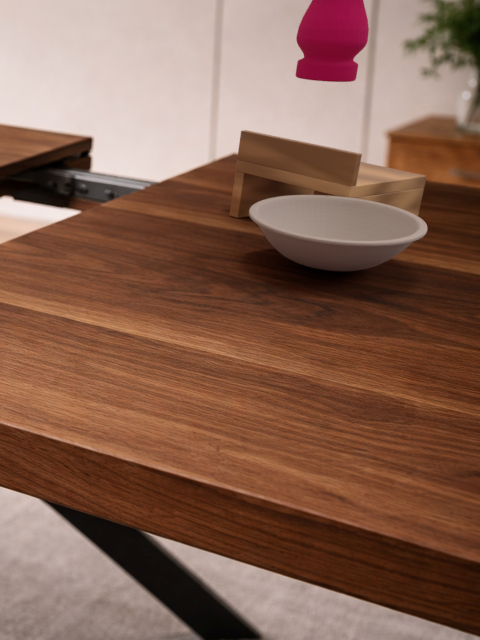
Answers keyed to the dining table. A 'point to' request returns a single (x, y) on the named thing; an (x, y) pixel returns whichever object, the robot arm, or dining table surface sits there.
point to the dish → (336, 230)
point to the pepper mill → (331, 40)
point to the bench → (315, 174)
